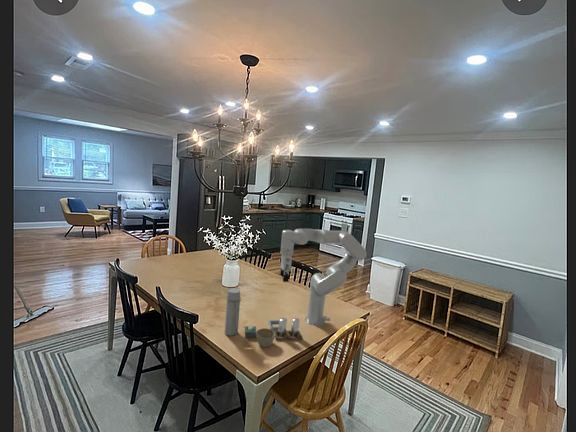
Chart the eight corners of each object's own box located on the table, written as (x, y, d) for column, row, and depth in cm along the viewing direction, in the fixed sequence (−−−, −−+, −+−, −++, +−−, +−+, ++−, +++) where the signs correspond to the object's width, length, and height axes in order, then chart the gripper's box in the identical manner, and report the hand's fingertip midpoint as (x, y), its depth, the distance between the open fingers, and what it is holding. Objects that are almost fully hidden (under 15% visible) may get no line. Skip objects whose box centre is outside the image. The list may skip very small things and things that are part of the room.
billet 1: (284, 334, 173) (286, 317, 171) (285, 338, 169) (287, 321, 167) (277, 334, 172) (279, 317, 170) (278, 338, 168) (280, 321, 166)
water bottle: (221, 331, 172) (224, 289, 168) (234, 328, 176) (237, 286, 173) (229, 339, 164) (232, 295, 161) (242, 335, 169) (245, 293, 165)
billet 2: (296, 334, 174) (298, 317, 172) (298, 338, 170) (300, 321, 169) (289, 334, 173) (291, 317, 172) (291, 338, 169) (292, 321, 168)
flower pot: (269, 353, 156) (270, 340, 155) (251, 347, 159) (252, 334, 158) (277, 343, 165) (278, 331, 164) (260, 338, 168) (261, 326, 167)
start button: (253, 331, 171) (253, 326, 171) (253, 334, 169) (253, 329, 168) (247, 331, 171) (248, 326, 170) (247, 334, 168) (248, 329, 167)
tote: (282, 324, 186) (282, 320, 186) (284, 331, 178) (284, 327, 178) (268, 324, 184) (269, 320, 184) (270, 331, 177) (270, 327, 176)
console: (255, 333, 173) (255, 326, 173) (256, 338, 168) (256, 332, 167) (244, 333, 172) (245, 326, 172) (245, 339, 166) (245, 332, 166)
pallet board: (298, 334, 176) (299, 330, 176) (301, 341, 169) (301, 337, 169) (273, 335, 173) (274, 330, 173) (275, 342, 166) (276, 337, 166)
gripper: (296, 255, 173) (293, 284, 176) (290, 247, 190) (287, 273, 193) (283, 254, 172) (280, 283, 174) (278, 246, 189) (275, 273, 191)
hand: (284, 278), depth 183 cm, fingers open, 9 cm apart
